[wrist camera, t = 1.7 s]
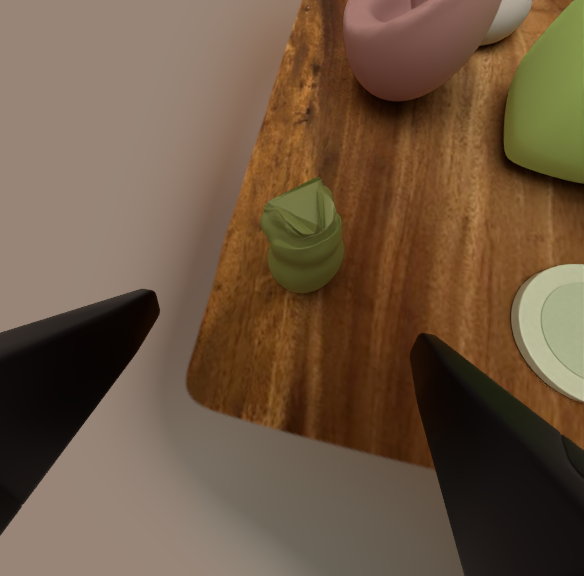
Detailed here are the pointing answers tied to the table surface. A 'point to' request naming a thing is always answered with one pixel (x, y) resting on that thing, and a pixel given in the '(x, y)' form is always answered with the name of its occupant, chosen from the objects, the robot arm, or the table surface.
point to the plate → (553, 327)
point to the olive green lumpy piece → (303, 237)
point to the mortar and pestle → (412, 42)
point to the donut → (507, 19)
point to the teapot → (550, 101)
